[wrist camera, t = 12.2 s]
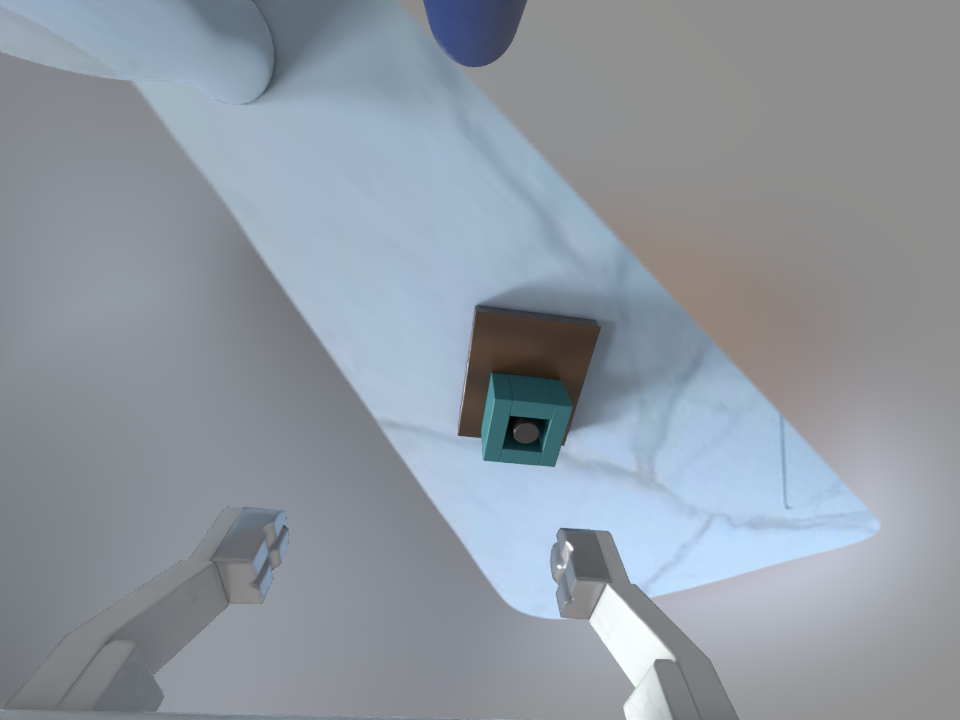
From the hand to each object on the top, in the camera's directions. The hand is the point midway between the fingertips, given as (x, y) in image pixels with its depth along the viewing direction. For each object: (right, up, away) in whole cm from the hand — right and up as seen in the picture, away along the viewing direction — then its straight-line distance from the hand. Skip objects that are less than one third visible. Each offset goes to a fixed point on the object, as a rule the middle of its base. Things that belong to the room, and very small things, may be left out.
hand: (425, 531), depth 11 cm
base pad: (+5, +4, +22) cm, 22 cm away
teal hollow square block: (+5, +1, +21) cm, 22 cm away
